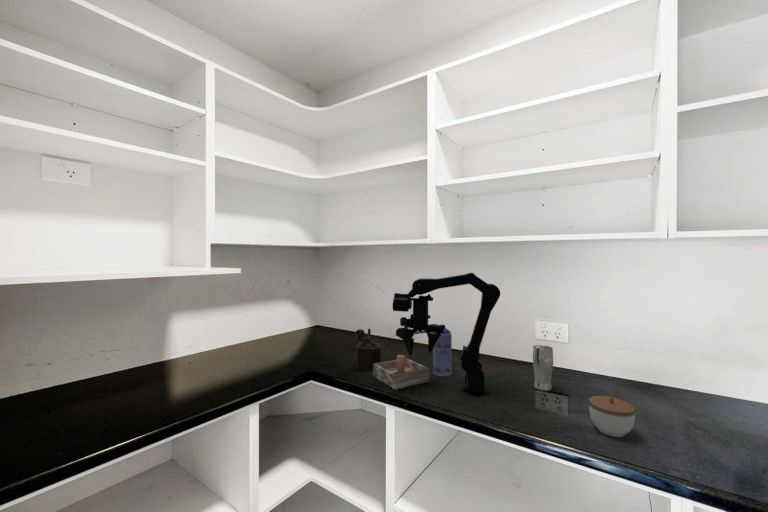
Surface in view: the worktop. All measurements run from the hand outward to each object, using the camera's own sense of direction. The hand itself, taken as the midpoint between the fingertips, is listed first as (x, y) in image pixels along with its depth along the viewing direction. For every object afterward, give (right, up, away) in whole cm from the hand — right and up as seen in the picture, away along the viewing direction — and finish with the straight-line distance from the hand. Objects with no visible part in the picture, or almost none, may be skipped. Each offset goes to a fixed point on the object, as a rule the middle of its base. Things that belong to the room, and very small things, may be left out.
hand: (420, 354), depth 124 cm
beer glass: (+46, -13, 0) cm, 47 cm away
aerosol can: (+11, -13, +15) cm, 22 cm away
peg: (-7, -12, +7) cm, 16 cm away
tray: (-7, -12, +7) cm, 16 cm away
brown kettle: (-21, -12, +20) cm, 31 cm away
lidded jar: (+50, -12, -32) cm, 60 cm away
